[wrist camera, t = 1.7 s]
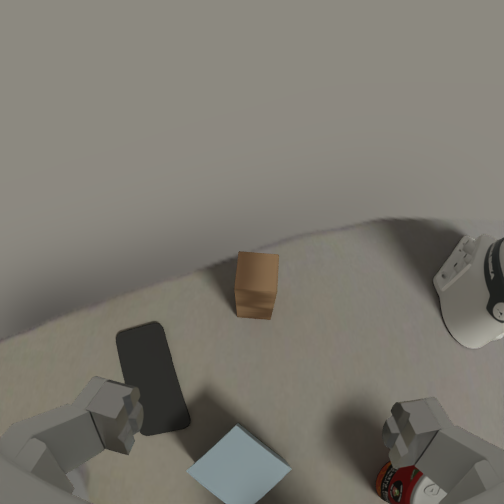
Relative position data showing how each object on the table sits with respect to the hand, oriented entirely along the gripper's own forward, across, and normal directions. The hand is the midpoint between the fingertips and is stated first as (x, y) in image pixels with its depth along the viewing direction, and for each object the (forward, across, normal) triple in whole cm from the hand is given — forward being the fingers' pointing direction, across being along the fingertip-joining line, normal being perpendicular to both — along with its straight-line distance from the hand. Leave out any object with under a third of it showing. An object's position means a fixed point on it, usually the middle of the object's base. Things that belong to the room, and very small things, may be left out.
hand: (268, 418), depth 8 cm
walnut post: (+31, +1, +10) cm, 33 cm away
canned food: (+13, -21, +29) cm, 38 cm away
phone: (+23, +14, +20) cm, 33 cm away
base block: (+16, +1, +26) cm, 31 cm away
